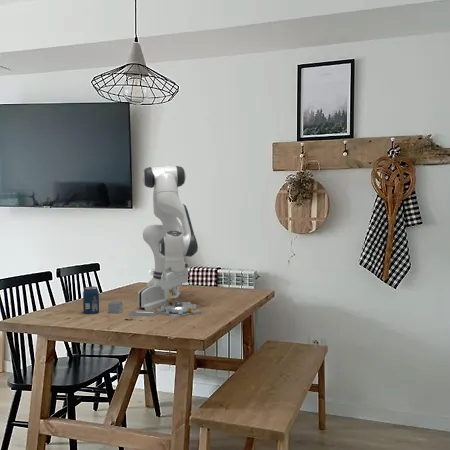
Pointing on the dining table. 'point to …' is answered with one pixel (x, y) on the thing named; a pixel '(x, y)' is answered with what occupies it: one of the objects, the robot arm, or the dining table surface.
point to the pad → (143, 313)
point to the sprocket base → (178, 314)
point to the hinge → (151, 297)
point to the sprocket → (177, 306)
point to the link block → (115, 307)
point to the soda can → (90, 300)
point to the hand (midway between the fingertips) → (174, 295)
